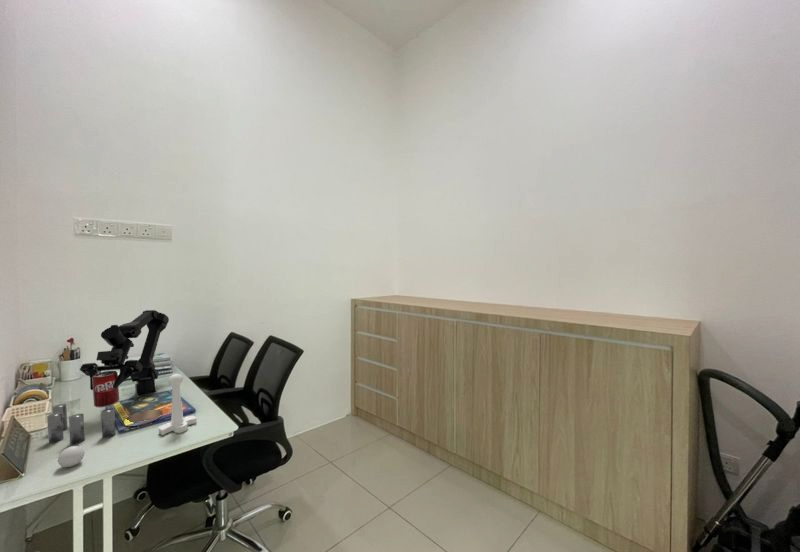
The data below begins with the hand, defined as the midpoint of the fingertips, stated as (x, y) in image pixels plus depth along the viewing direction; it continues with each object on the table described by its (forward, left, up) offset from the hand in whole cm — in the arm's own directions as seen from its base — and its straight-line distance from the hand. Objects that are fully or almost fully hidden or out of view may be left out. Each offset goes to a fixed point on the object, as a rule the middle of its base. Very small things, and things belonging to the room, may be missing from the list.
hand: (103, 388), depth 123 cm
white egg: (+12, +27, -13) cm, 33 cm away
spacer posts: (+7, +5, -13) cm, 16 cm away
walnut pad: (-10, +9, -13) cm, 19 cm away
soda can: (-1, -1, -7) cm, 7 cm away
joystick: (-16, +29, -13) cm, 36 cm away
